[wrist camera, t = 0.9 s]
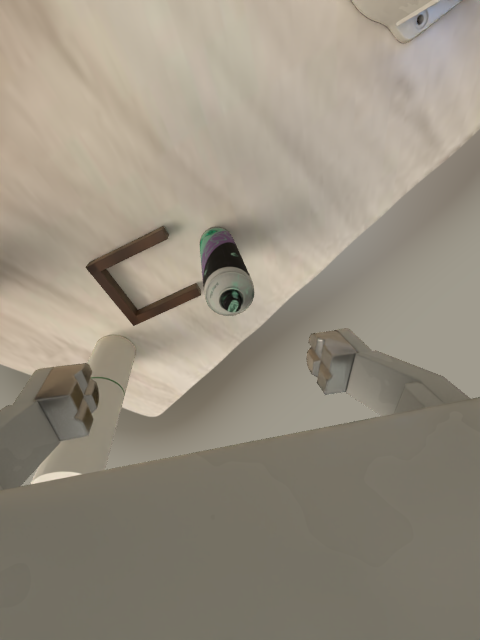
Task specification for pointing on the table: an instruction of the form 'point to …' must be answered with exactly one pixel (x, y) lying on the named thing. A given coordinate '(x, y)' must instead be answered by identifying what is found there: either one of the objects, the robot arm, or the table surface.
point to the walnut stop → (117, 294)
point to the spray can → (224, 273)
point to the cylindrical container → (95, 414)
